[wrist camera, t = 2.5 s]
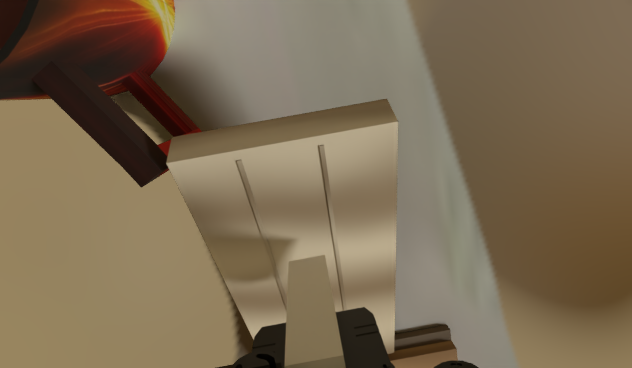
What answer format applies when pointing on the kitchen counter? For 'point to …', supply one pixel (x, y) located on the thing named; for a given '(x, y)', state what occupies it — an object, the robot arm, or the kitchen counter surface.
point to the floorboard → (421, 348)
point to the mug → (95, 70)
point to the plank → (298, 206)
